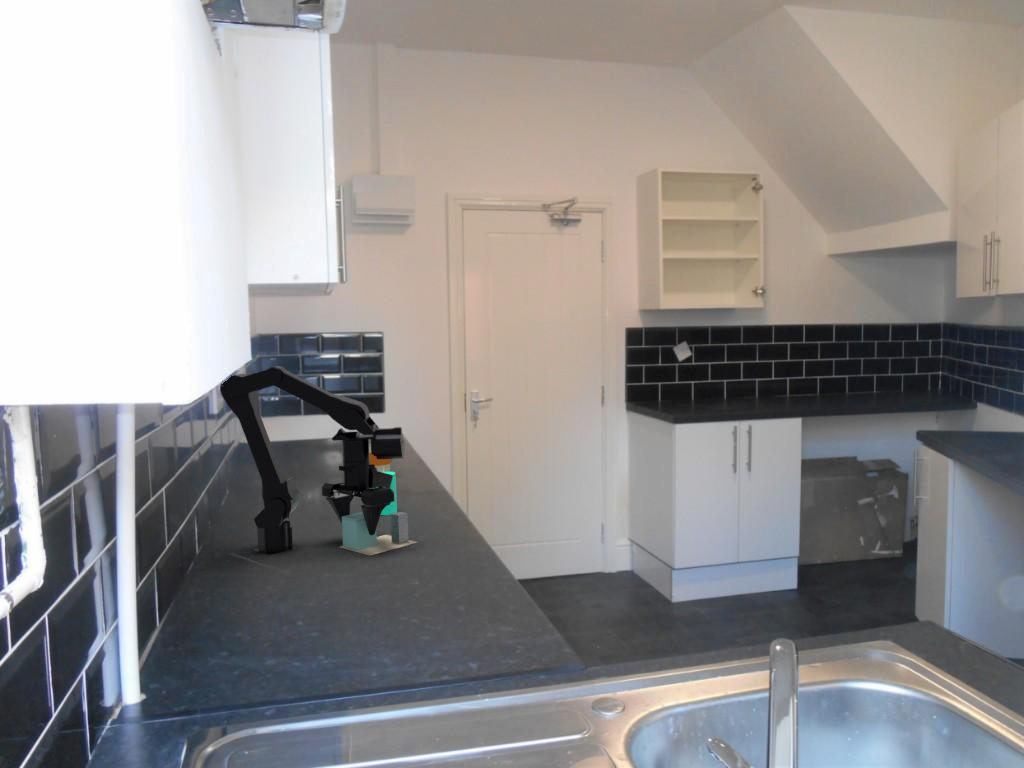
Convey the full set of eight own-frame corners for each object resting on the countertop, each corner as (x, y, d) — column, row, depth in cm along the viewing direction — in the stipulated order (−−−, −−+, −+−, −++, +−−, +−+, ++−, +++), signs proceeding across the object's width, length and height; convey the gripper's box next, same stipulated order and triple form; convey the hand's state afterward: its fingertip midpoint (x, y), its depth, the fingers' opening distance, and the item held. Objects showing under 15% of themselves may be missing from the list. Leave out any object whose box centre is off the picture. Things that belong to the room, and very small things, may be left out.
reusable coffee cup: (351, 477, 262) (349, 431, 261) (388, 473, 268) (386, 428, 267) (360, 484, 251) (358, 436, 250) (399, 479, 256) (397, 432, 255)
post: (399, 547, 176) (398, 515, 175) (391, 545, 177) (390, 513, 177) (408, 544, 177) (407, 513, 177) (401, 542, 179) (399, 511, 179)
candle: (368, 514, 208) (367, 468, 208) (383, 509, 214) (381, 464, 213) (387, 516, 206) (386, 469, 205) (401, 511, 211) (400, 465, 210)
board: (370, 558, 168) (369, 555, 168) (338, 549, 175) (338, 546, 175) (417, 544, 177) (417, 542, 177) (386, 537, 185) (386, 534, 185)
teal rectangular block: (357, 550, 172) (356, 519, 171) (343, 546, 175) (341, 516, 175) (377, 545, 175) (375, 515, 175) (362, 541, 179) (361, 512, 179)
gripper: (413, 458, 174) (415, 530, 175) (360, 451, 186) (363, 518, 187) (371, 466, 165) (374, 541, 167) (319, 458, 178) (322, 528, 179)
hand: (359, 531), depth 175 cm, fingers open, 9 cm apart
